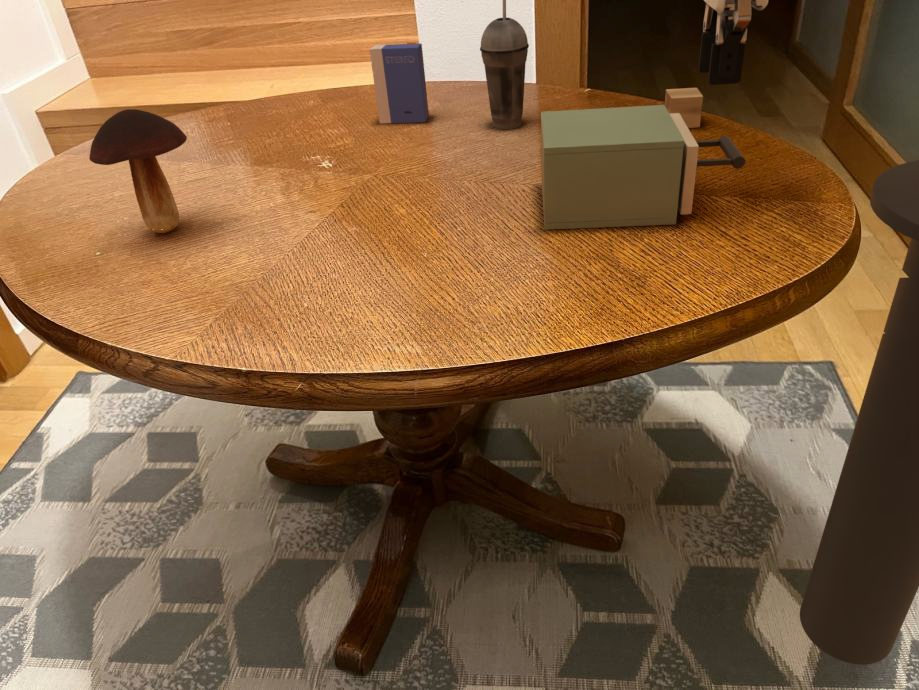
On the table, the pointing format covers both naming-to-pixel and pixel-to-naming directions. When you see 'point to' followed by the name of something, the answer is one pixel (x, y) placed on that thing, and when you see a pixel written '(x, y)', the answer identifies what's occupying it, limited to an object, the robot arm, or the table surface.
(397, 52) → the walkman
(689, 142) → the drawer
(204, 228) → the table surface
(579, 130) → the cabinet
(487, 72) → the beverage cup
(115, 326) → the table surface
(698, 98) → the block
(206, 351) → the table surface
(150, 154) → the decorative mushroom
